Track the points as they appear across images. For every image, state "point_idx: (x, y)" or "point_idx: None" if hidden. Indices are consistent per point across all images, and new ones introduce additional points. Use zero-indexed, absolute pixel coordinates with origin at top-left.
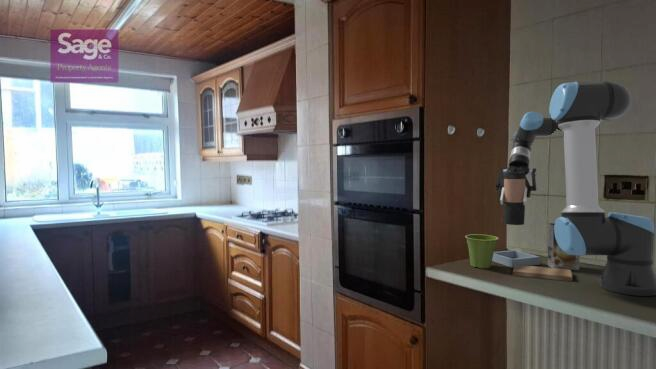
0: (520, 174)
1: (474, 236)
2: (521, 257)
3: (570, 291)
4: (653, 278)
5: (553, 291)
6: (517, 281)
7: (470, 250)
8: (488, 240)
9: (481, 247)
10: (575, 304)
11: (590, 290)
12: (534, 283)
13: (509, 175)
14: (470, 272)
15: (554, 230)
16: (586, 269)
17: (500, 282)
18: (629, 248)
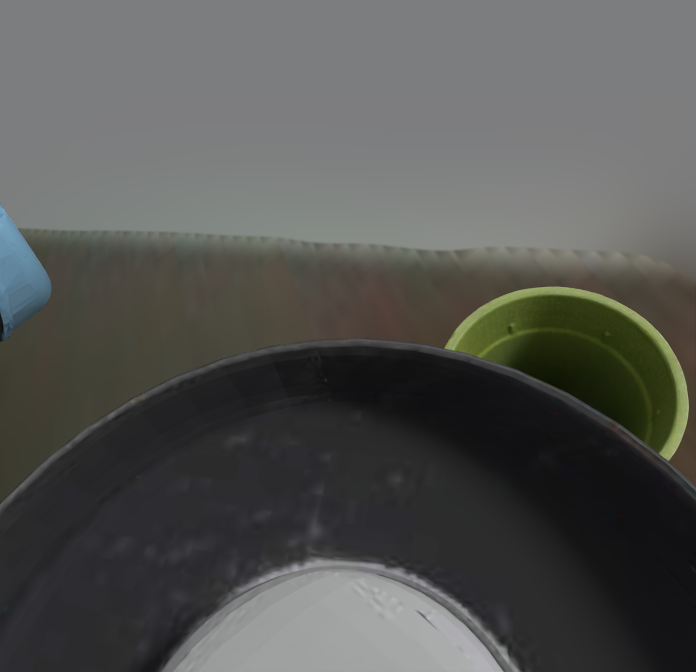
0: (47, 512)
1: (657, 447)
2: None
3: (100, 338)
4: None
5: (151, 301)
6: (287, 330)
7: (582, 362)
8: (461, 323)
9: (503, 340)
10: (88, 231)
11: (35, 397)
12: (225, 348)
13: (401, 383)
14: None
15: (25, 241)
16: None
17: (336, 277)
18: None
